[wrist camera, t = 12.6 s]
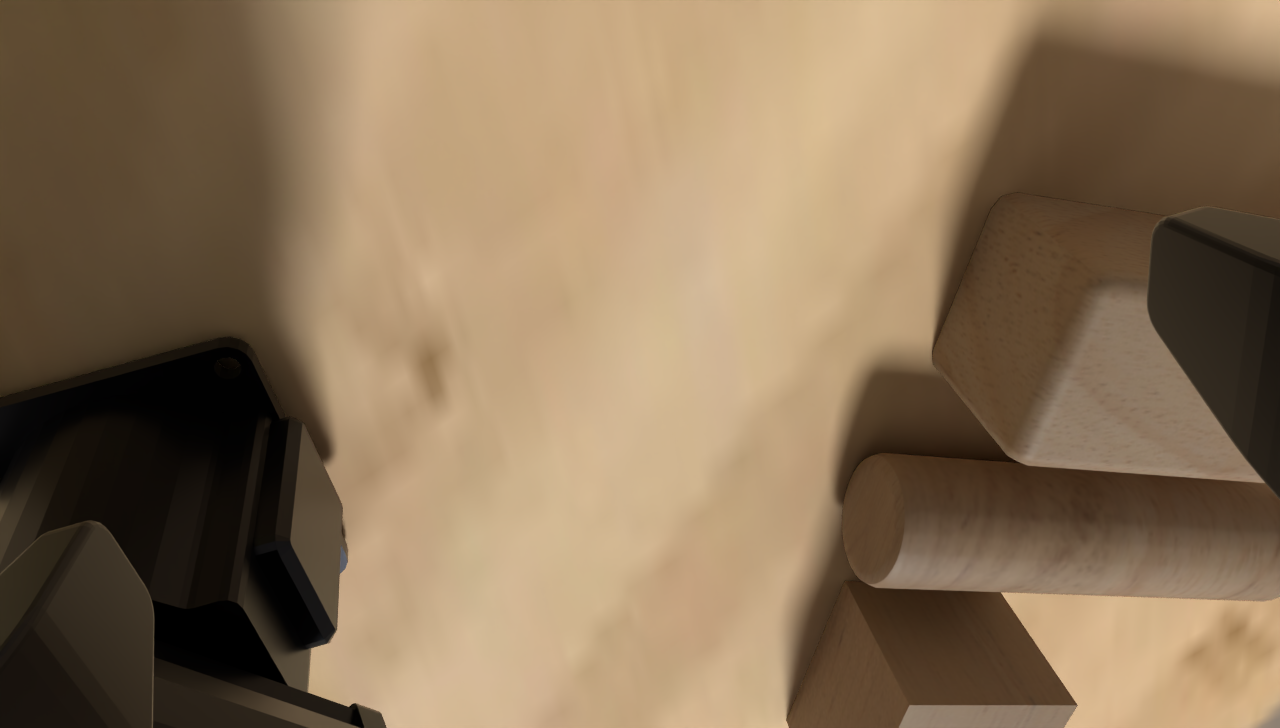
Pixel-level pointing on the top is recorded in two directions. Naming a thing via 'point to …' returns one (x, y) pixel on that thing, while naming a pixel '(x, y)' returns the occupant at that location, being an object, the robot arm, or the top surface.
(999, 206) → the wooden block set
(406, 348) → the top surface
